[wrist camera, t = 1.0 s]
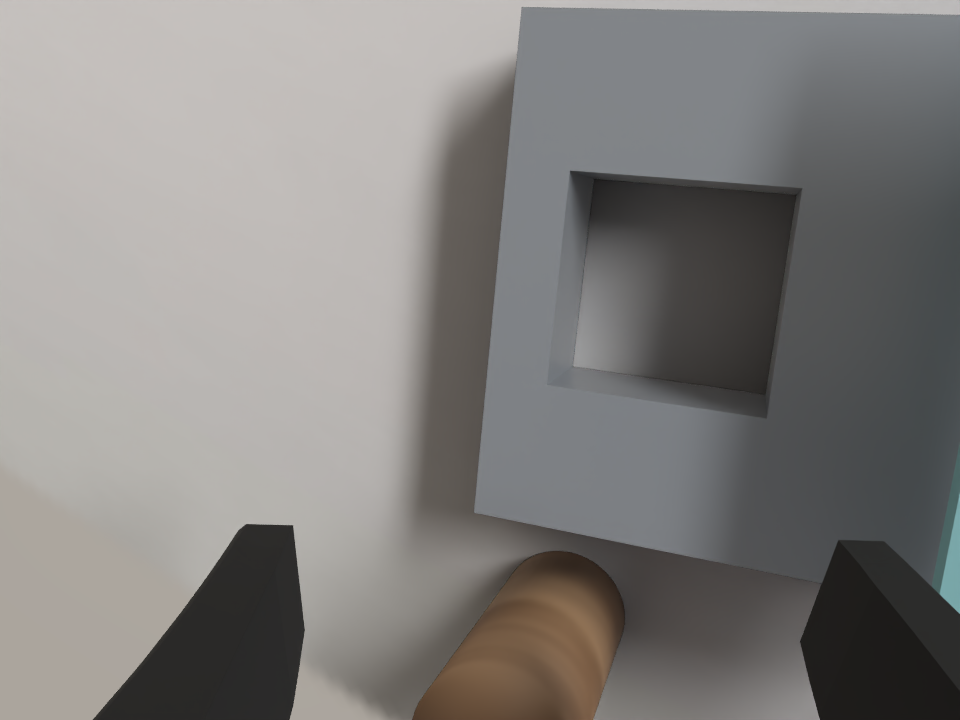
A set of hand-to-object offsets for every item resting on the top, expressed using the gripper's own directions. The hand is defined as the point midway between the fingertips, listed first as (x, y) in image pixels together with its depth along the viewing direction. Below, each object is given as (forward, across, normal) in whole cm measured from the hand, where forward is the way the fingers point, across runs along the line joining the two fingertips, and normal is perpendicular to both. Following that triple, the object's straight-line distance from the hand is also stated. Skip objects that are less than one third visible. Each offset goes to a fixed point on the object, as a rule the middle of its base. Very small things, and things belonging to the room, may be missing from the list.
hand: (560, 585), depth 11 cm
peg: (+8, -2, +10) cm, 13 cm away
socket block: (+11, -6, +1) cm, 12 cm away
